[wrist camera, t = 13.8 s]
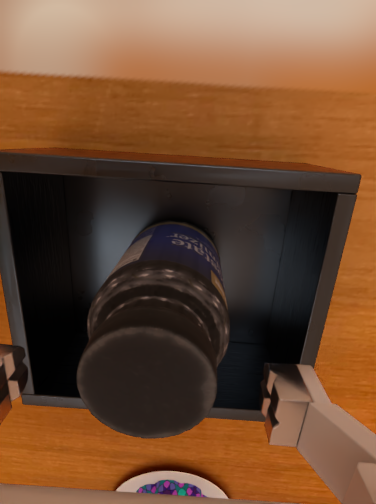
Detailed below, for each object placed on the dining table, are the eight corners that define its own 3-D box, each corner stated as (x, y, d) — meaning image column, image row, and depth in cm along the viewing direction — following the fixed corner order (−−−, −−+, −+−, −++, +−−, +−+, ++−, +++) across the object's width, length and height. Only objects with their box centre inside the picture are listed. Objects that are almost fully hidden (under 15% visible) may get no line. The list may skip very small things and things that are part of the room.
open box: (53, 147, 19) (-22, 150, 12) (306, 163, 19) (362, 174, 12) (70, 333, 23) (22, 405, 17) (272, 347, 23) (300, 425, 17)
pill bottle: (238, 262, 20) (281, 391, 10) (175, 318, 22) (154, 480, 11) (170, 197, 19) (136, 266, 8) (109, 262, 20) (16, 387, 10)
